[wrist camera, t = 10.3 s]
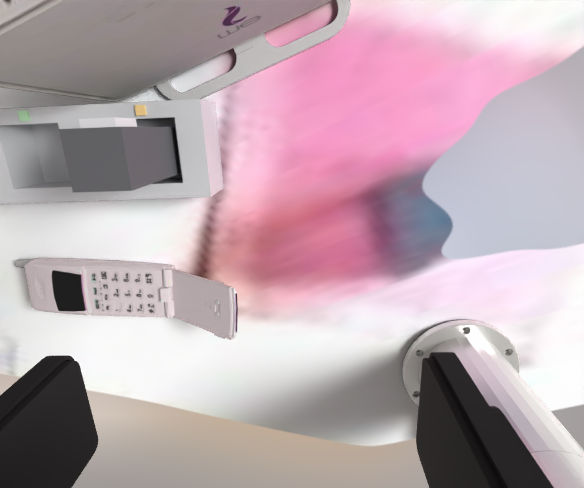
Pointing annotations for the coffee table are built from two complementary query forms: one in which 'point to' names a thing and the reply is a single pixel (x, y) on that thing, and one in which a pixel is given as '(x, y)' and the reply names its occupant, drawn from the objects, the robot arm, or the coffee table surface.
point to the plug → (119, 154)
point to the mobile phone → (130, 292)
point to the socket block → (48, 120)
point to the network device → (143, 43)
